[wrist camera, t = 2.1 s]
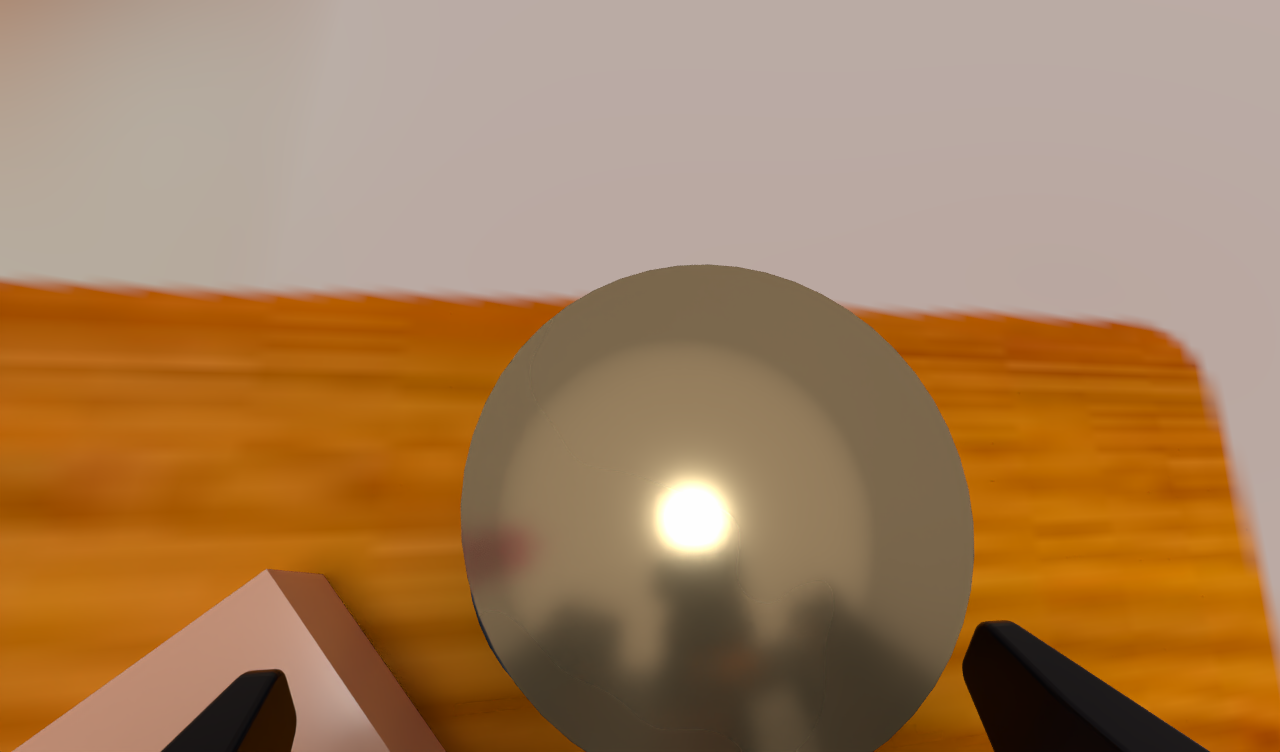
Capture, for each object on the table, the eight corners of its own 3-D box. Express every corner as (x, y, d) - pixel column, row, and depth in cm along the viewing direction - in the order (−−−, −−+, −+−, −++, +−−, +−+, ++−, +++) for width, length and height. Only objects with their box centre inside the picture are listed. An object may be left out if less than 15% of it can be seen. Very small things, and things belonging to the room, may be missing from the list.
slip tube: (714, 582, 18) (1159, 541, 5) (584, 703, 17) (704, 1117, 3) (609, 454, 19) (742, 117, 6) (477, 560, 17) (237, 444, 4)
